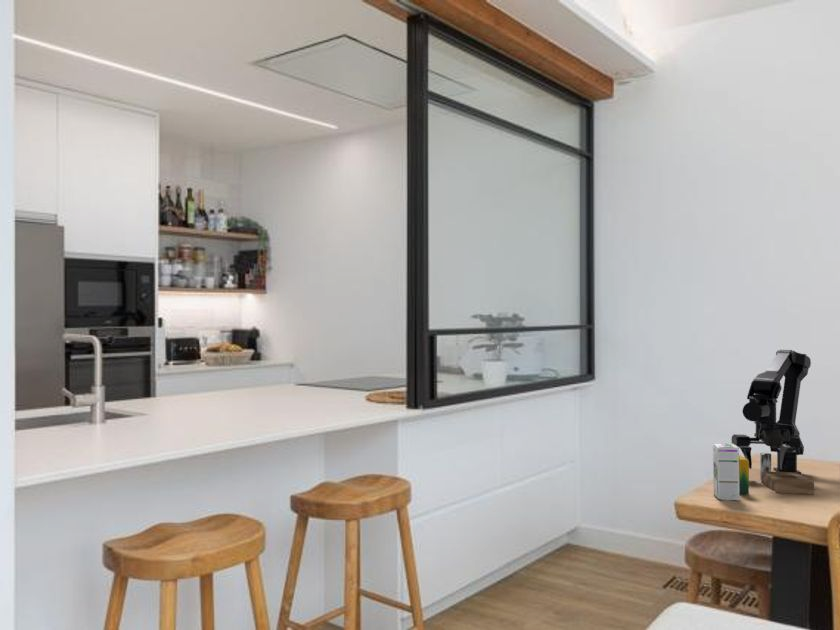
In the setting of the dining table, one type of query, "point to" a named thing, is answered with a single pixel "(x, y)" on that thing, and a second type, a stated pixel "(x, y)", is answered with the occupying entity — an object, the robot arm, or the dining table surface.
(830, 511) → the dining table surface
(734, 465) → the syrup box
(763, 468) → the peg
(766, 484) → the hole block
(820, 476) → the dining table surface
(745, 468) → the crayon box
